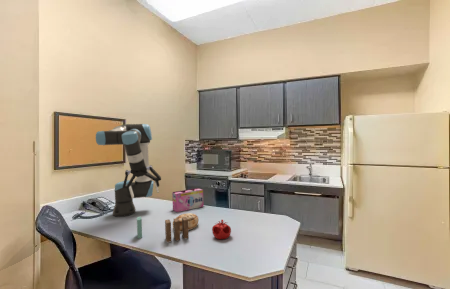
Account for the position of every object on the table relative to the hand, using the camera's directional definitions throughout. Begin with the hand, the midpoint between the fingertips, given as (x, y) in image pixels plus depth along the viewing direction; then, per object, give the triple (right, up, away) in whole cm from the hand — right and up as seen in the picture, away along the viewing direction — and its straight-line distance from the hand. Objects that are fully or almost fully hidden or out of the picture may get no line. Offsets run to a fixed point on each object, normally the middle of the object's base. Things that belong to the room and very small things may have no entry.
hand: (145, 194), depth 128 cm
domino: (-2, -22, -3) cm, 23 cm away
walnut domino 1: (+15, -22, -9) cm, 28 cm away
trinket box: (+21, -22, +8) cm, 32 cm away
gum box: (+17, -21, +46) cm, 54 cm away
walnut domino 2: (+19, -22, -7) cm, 30 cm away
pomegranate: (+43, -22, -7) cm, 48 cm away
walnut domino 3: (+23, -22, -5) cm, 32 cm away
